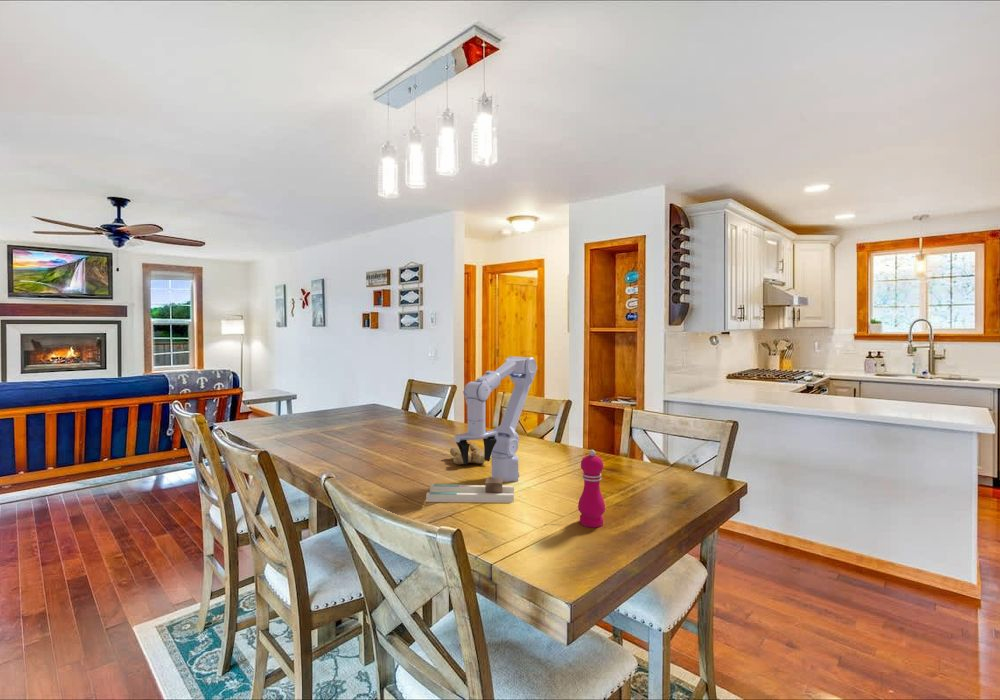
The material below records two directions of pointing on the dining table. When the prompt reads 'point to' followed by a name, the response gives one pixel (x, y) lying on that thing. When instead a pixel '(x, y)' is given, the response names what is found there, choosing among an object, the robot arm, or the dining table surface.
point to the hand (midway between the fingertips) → (476, 461)
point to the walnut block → (493, 485)
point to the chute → (468, 494)
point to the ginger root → (469, 455)
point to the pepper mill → (591, 492)
